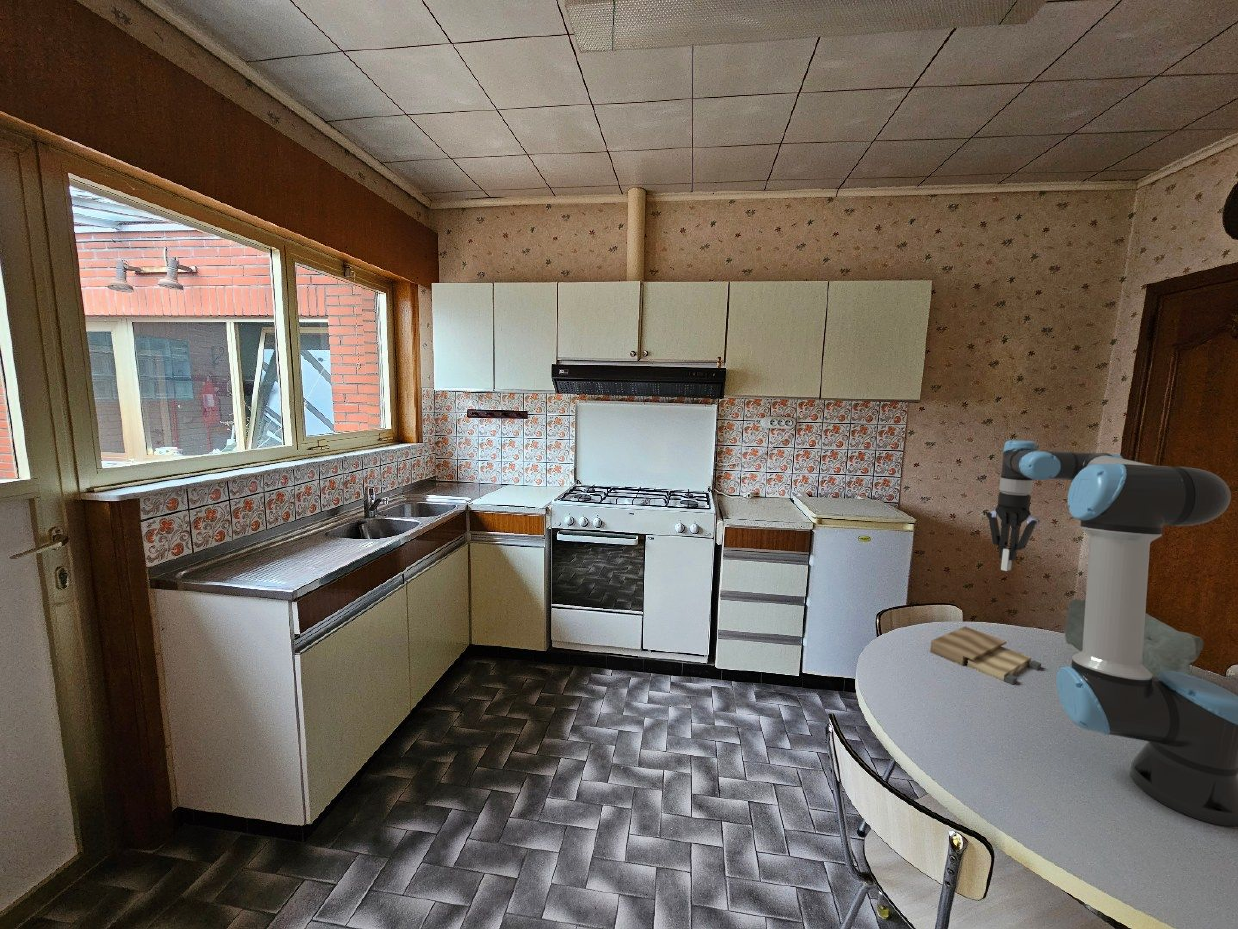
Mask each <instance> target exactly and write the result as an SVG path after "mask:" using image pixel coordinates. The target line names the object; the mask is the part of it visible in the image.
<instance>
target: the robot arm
mask: <svg viewBox="0 0 1238 929" xmlns="http://www.w3.org/2000/svg"><path fill="white" fill-rule="evenodd" d="M999 479H1000V480H999V487H998V490H999V493H998V498H997V506H996V507H995V509H994V510H992V511H987V512H986V513H985V515H986V518H987V519H988V522H989V528H990V534H991V540H992V544H993V545H996V546H998V547H999V552H998V558H1000V559H1001V564H1000V570H1001V571H1005V572H1008V571H1012V563H1013V561H1016V558H1017V553H1018V551H1020V550H1021V551H1022V550H1024V549H1026V547H1027V544H1028V543H1029V541H1030V538H1031V536H1032V534H1033V531H1034V529H1035V527H1036V526H1038V524H1040V523H1041V522H1040V521H1041V520H1040V519H1038V518H1037V519H1036V518H1034V517H1033V516H1032V514H1031V511H1030V507H1031V500H1032V496H1031V493H1032V490H1033V482H1034V481H1035V480H1036V481H1047V480H1063V481H1064V480H1065V481H1072V482H1071V484H1070V487H1069V489H1068V493H1067V507H1069V508H1068V511H1069V514H1070V515H1071V516H1072V517H1073V518H1074V519H1076V520H1079V521H1080V526H1079V528H1080V529H1081V530H1082V531H1083V532H1084V533H1086V535H1088V537H1089V542H1088V558H1087V571H1086V572H1087V576H1086V586H1085V588H1086V589H1085V590H1086V591H1085V601H1086V603H1085V618H1084V634H1083V649H1082V651H1079V652H1078V653H1075V654H1073V655H1072V656H1071V666H1070V665H1066V666H1062V667H1060V668H1059V669H1058V671H1057V673H1056V676H1055V678H1056V679H1055V682H1056V690H1057V694H1058V698H1059V701H1060V704H1061V706H1062V708H1063V710H1064V712H1065V714H1066V716H1067V717H1068V718H1069V720H1070V721H1071V722H1072V723H1073V724H1074V725H1076V726H1078V727H1079V728H1081V729H1082V730H1085V731H1091V732H1096V733H1098V734H1099V733H1100V734H1101V735H1104V736H1109V735H1110V736H1114V737H1115V736H1116V737H1122V738H1127V739H1133V740H1138V741H1144V742H1146V744H1145V745H1144V746H1143V747H1142V749H1141V750H1140V751H1139V752H1138V753H1137V755H1136V756H1135V757H1134V758H1133V760H1132V762H1131V763H1130V771H1129V775H1130V778H1131V780H1132V781H1133V782H1134V783H1135V784H1136V786H1137V787H1139V789H1141V790H1142V791H1143V792H1145V793H1146V795H1148V796H1150V797H1151V798H1153V799H1155V801H1157V802H1158V803H1160V804H1163V805H1164V806H1167V807H1168V808H1170V809H1172V810H1174V811H1176V812H1179V813H1181V814H1183V815H1185V816H1188V817H1191V818H1193V819H1196V820H1198V821H1199V820H1200V821H1203V822H1206V823H1210V824H1213V825H1218V826H1223V827H1224V826H1225V827H1235V826H1236V827H1237V826H1238V695H1236V694H1235V693H1233V692H1231V691H1229V690H1228V689H1226V688H1224V687H1222V686H1220V685H1218V684H1215V683H1213V682H1211V681H1208V680H1205V679H1202V678H1199V677H1197V676H1194V675H1188V674H1184V673H1180V672H1176V671H1167V670H1166V671H1162V672H1160V673H1159V675H1157V679H1153V678H1154V677H1153V675H1152V674H1151V673H1150V672H1149V671H1148V670H1147V669H1146V668H1145V667H1144V666H1143V664H1142V657H1143V642H1144V626H1145V613H1146V611H1147V610H1146V609H1147V608H1146V607H1147V592H1148V579H1149V566H1150V565H1149V563H1150V562H1149V561H1150V550H1151V549H1150V548H1151V543H1152V542H1153V541H1155V540H1157V539H1159V538H1160V537H1162V536H1163V527H1164V526H1170V527H1171V526H1172V527H1188V526H1190V527H1191V526H1196V525H1201V524H1205V523H1208V522H1210V521H1213V520H1215V519H1216V518H1218V517H1220V516H1221V515H1222V514H1223V513H1224V512H1225V511H1226V510H1227V509H1228V507H1229V505H1230V502H1231V499H1232V496H1231V495H1232V494H1231V490H1230V488H1229V485H1228V484H1227V483H1226V482H1225V481H1224V479H1222V478H1221V477H1220V476H1219V475H1217V474H1215V473H1213V472H1211V471H1208V470H1205V469H1201V468H1198V467H1197V468H1194V467H1190V466H1189V467H1187V466H1176V465H1175V466H1167V465H1166V466H1165V465H1153V464H1149V463H1144V462H1139V461H1135V460H1130V459H1126V458H1125V459H1124V458H1123V456H1122V455H1120V454H1118V453H1117V454H1116V453H1109V452H1073V451H1070V452H1069V451H1054V450H1053V451H1049V450H1038V444H1037V442H1035V441H1033V440H1032V441H1031V440H1019V439H1018V440H1017V439H1016V440H1013V439H1011V440H1007V441H1005V442H1004V447H1003V451H1002V462H1001V471H1000V478H999ZM998 518H999V519H1000V520H1001V521H1000V526H1001V528H1000V527H999V520H998ZM1026 520H1027V521H1026ZM1025 521H1026V524H1027V525H1025V526H1024V530H1023V532H1022V534H1021V536H1020V532H1021V527H1022V523H1024V522H1025ZM1010 529H1011V532H1010Z"/></svg>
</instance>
